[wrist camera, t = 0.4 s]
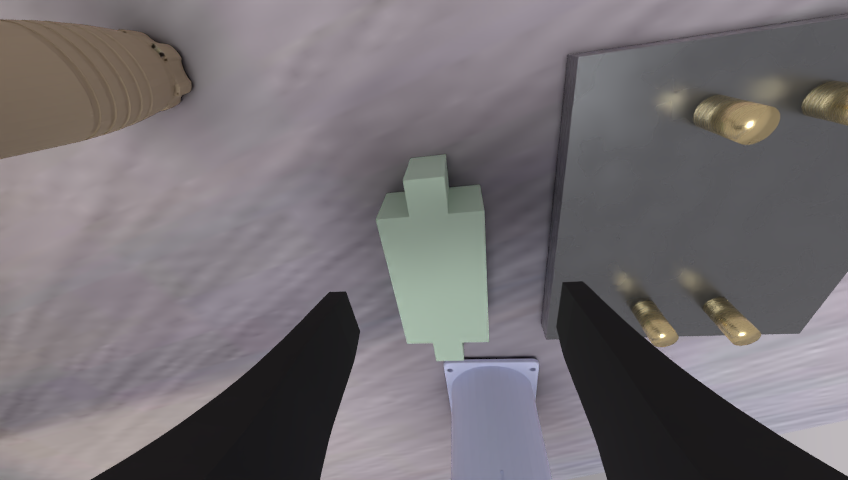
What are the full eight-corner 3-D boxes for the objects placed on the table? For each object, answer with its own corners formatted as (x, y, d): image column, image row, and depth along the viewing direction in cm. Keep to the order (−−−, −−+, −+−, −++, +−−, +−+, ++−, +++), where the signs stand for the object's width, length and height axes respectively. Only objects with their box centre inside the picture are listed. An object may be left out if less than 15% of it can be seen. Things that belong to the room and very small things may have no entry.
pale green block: (485, 324, 25) (489, 360, 22) (416, 327, 25) (411, 361, 23) (478, 150, 17) (483, 172, 14) (379, 161, 18) (366, 184, 15)
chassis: (779, 316, 22) (838, 367, 18) (541, 323, 24) (555, 370, 21) (1005, -10, 12) (1217, -26, 9) (567, 54, 14) (602, 61, 11)
